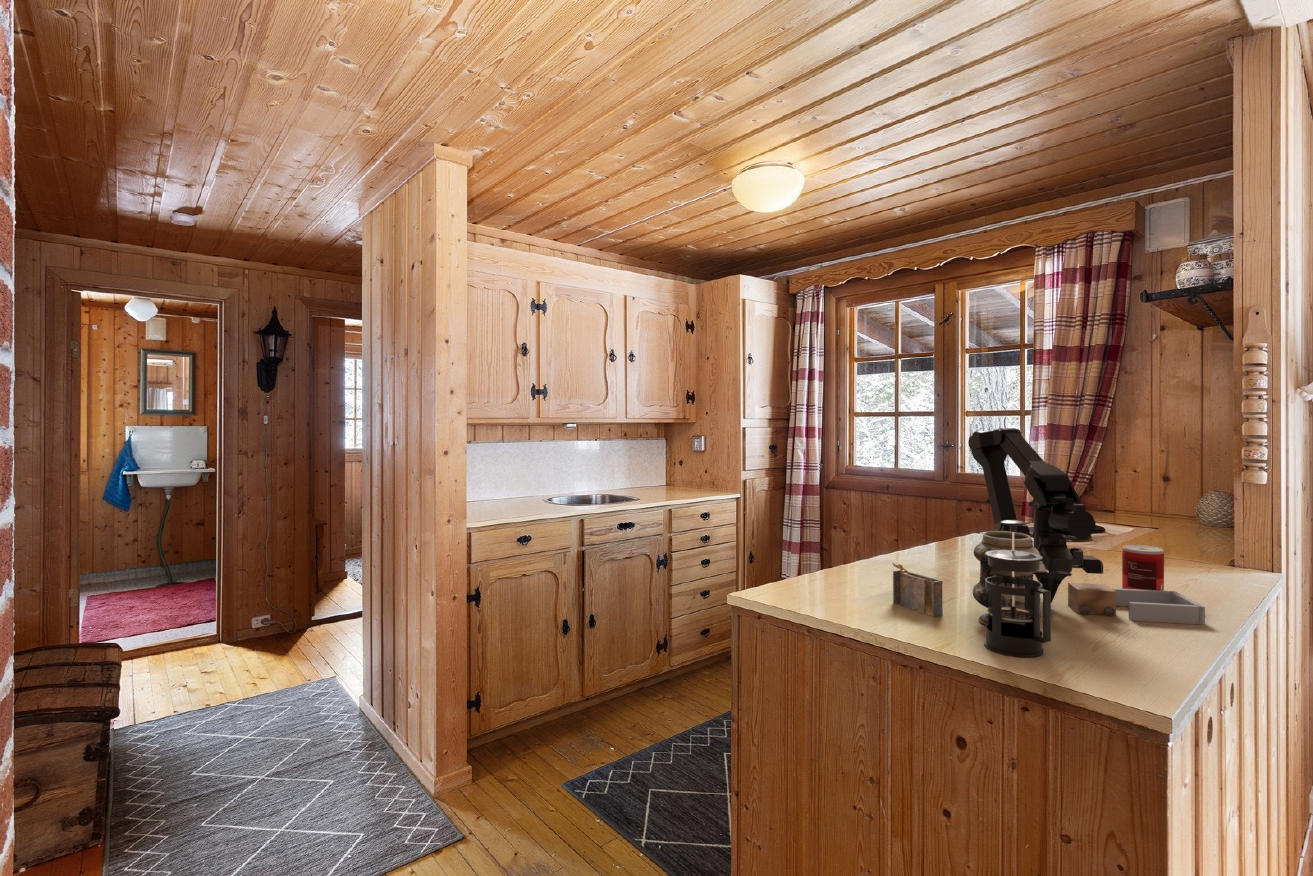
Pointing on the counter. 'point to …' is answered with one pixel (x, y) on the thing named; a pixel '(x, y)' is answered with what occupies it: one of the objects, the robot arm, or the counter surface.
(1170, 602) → the dock
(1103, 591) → the brown toy brick
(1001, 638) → the french press
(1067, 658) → the counter surface
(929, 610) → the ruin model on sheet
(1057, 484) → the robot arm
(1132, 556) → the canned food
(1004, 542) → the apothecary jar
